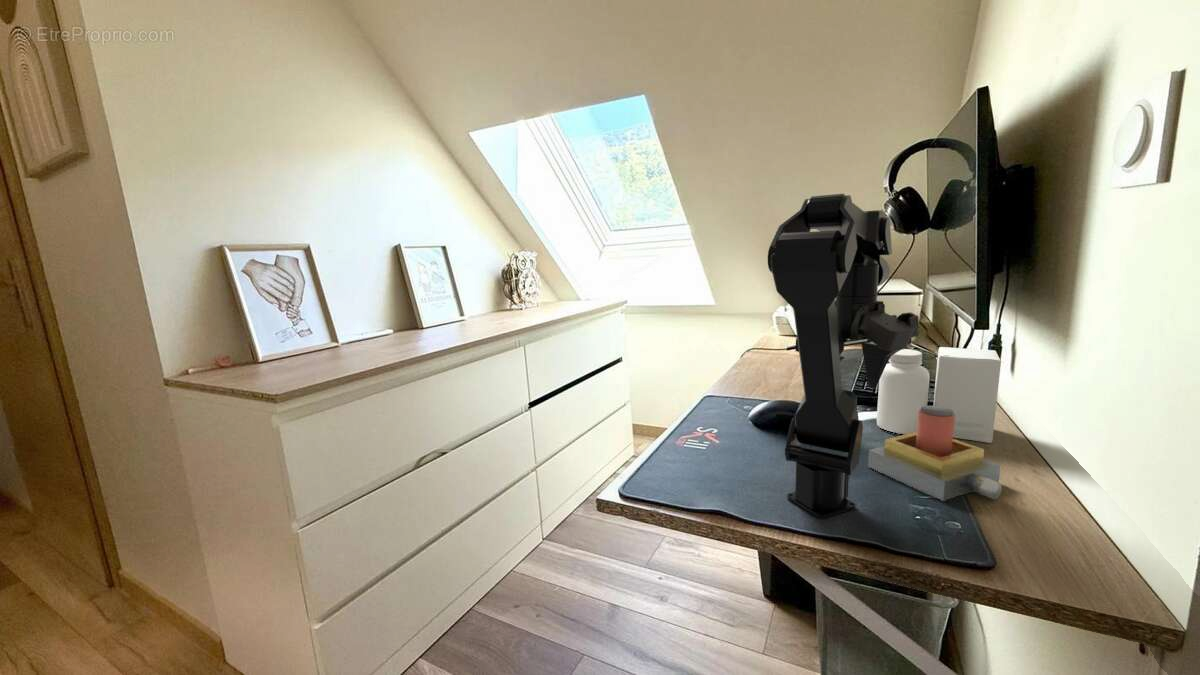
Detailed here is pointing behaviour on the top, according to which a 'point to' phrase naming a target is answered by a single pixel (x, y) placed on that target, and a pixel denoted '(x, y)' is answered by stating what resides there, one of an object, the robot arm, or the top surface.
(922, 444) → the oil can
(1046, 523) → the top surface
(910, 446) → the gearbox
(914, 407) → the pill bottle
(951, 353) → the supplement box
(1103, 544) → the top surface
